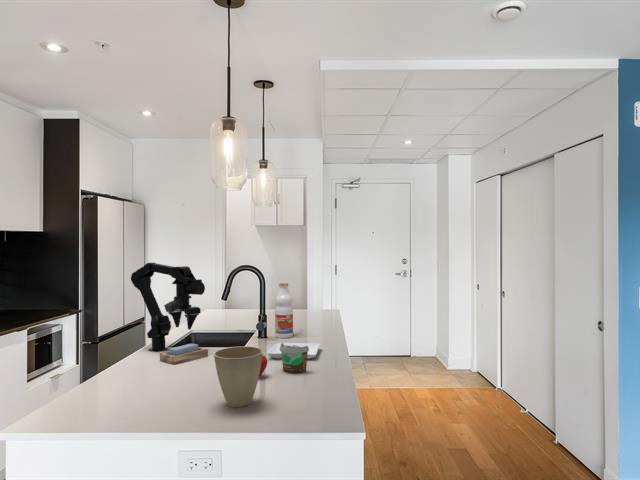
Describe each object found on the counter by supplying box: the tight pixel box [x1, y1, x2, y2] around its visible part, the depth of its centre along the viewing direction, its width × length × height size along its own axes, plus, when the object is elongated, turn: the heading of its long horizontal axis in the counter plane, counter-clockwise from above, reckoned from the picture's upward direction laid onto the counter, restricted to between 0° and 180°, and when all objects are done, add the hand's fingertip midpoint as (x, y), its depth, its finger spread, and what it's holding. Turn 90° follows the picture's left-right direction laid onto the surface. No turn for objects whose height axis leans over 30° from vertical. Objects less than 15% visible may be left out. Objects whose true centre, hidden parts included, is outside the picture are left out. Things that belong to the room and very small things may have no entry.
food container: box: [280, 342, 309, 375], centre depth 175 cm, size 12×6×10 cm, turn 62°
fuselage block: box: [168, 343, 199, 356], centre depth 198 cm, size 12×4×4 cm, turn 148°
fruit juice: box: [274, 282, 294, 339], centre depth 241 cm, size 9×9×28 cm
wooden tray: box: [159, 346, 209, 366], centre depth 198 cm, size 10×17×3 cm, turn 141°
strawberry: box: [259, 353, 268, 378], centre depth 169 cm, size 6×8×10 cm
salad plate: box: [266, 342, 322, 360], centre depth 202 cm, size 21×21×3 cm
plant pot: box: [213, 345, 264, 408], centre depth 142 cm, size 15×15×16 cm
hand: (183, 328), depth 209 cm, fingers open, 9 cm apart
